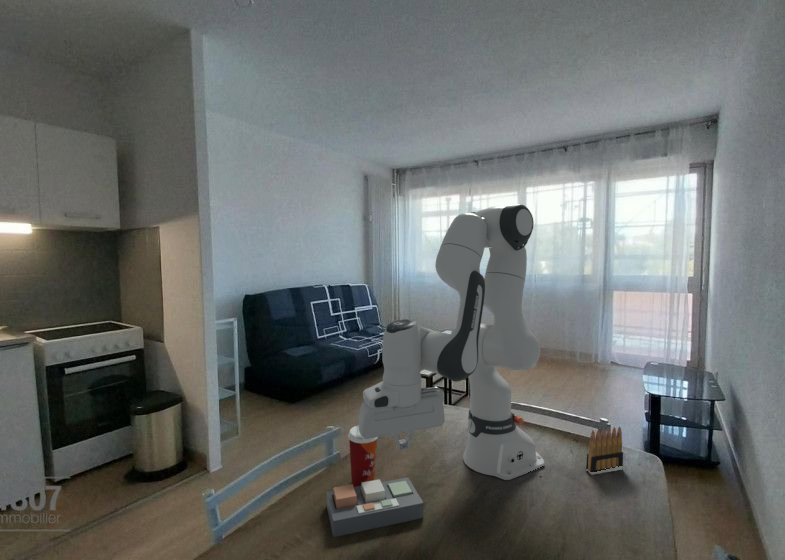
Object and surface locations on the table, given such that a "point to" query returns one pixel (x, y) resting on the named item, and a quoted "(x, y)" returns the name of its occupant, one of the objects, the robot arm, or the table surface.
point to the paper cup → (362, 457)
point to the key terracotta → (344, 496)
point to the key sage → (399, 489)
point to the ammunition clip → (605, 450)
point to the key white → (372, 491)
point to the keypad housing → (374, 511)
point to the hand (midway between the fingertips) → (402, 448)
